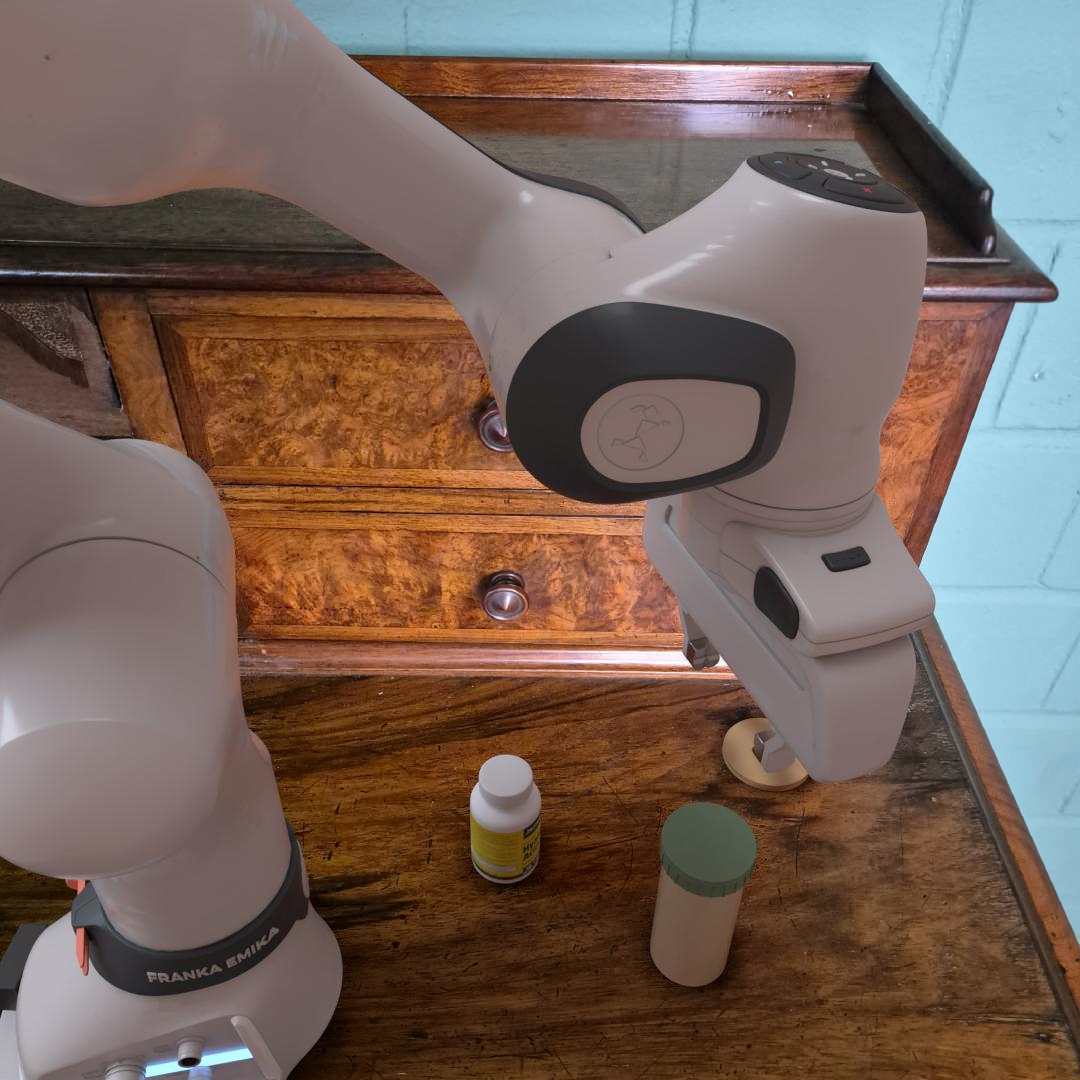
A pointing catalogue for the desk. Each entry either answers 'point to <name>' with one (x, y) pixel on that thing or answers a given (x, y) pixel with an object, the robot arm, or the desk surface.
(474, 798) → the supplement bottle
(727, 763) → the coaster
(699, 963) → the jar
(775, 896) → the desk surface
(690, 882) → the jar lid
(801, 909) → the desk surface
